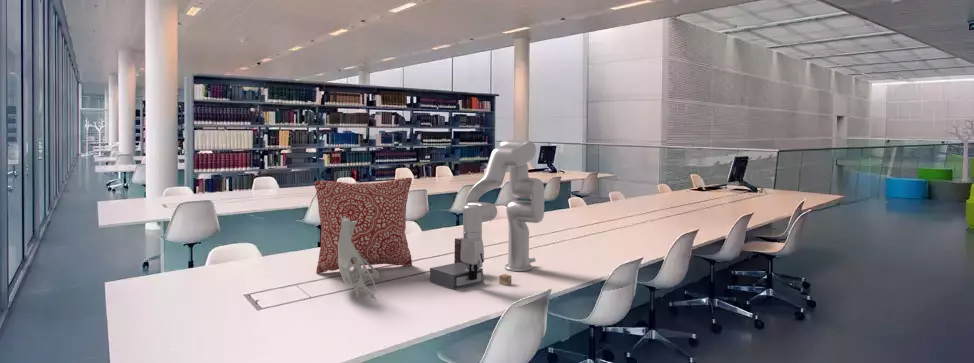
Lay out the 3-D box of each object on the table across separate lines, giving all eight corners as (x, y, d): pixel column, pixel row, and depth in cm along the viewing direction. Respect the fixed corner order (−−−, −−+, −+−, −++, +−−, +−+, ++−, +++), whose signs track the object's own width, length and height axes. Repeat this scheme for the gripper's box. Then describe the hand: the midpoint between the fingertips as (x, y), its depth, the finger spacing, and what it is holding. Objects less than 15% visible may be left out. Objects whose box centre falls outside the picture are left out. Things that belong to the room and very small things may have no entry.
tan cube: (505, 282, 246) (505, 273, 245) (511, 283, 243) (511, 275, 243) (499, 283, 243) (499, 275, 243) (505, 285, 241) (505, 277, 240)
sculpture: (388, 302, 217) (387, 222, 214) (340, 306, 212) (338, 224, 210) (380, 280, 248) (379, 210, 245) (337, 283, 243) (336, 212, 241)
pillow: (318, 278, 251) (315, 181, 247) (314, 269, 266) (312, 178, 262) (416, 269, 267) (416, 178, 263) (408, 262, 282) (407, 176, 278)
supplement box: (459, 275, 257) (459, 240, 255) (454, 273, 260) (453, 238, 259) (476, 272, 262) (476, 237, 260) (469, 270, 265) (469, 236, 264)
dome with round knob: (459, 276, 248) (459, 272, 248) (468, 279, 244) (468, 275, 244) (448, 278, 244) (448, 274, 244) (457, 281, 240) (457, 277, 240)
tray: (458, 274, 254) (458, 266, 254) (481, 281, 243) (481, 272, 243) (434, 279, 245) (434, 271, 245) (457, 286, 234) (457, 278, 234)
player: (459, 275, 256) (459, 261, 256) (483, 282, 244) (483, 268, 244) (430, 282, 245) (429, 267, 245) (453, 289, 234) (453, 274, 233)
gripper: (453, 234, 239) (454, 277, 240) (477, 239, 228) (478, 285, 229) (467, 231, 244) (468, 274, 245) (491, 236, 233) (492, 281, 234)
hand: (472, 279), depth 237 cm, fingers closed
